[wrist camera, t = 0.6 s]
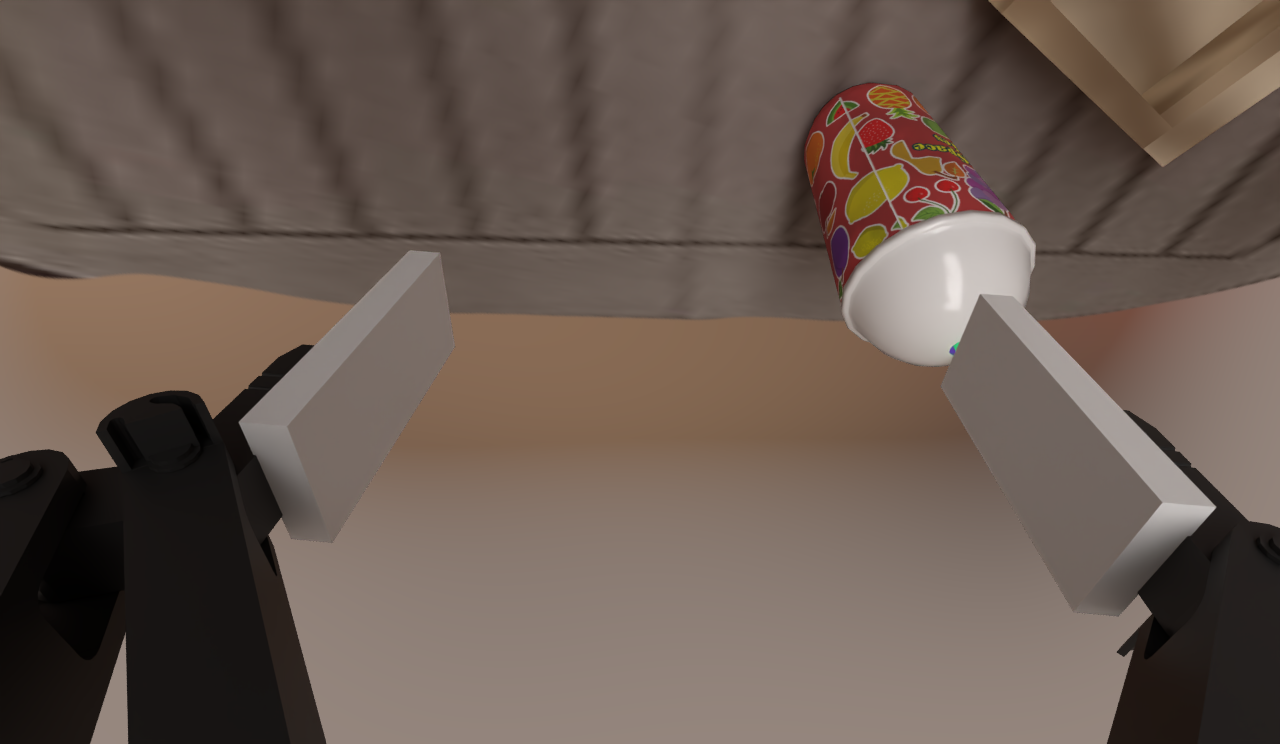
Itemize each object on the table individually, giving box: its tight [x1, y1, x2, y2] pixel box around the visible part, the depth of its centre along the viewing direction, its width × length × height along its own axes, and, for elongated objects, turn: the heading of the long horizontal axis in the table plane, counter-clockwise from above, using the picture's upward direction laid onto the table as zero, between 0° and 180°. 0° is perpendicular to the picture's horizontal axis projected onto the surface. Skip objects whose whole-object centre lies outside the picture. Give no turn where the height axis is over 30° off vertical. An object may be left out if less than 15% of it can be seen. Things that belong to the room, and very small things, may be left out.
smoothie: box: [804, 83, 1036, 367], centre depth 29 cm, size 8×8×20 cm
